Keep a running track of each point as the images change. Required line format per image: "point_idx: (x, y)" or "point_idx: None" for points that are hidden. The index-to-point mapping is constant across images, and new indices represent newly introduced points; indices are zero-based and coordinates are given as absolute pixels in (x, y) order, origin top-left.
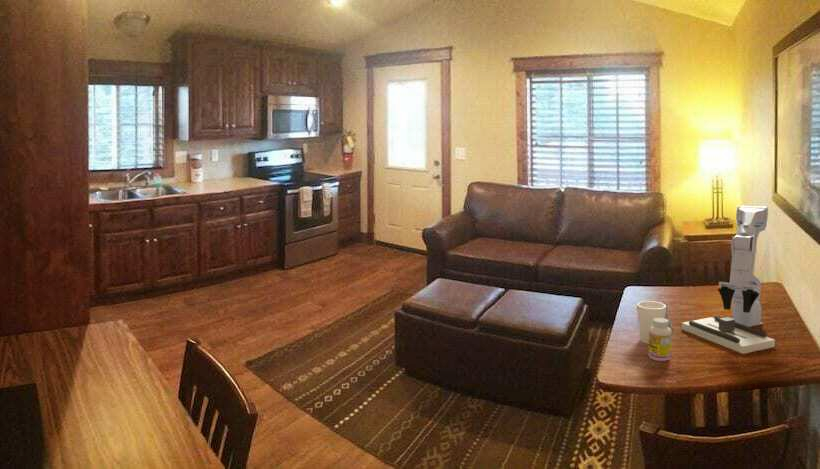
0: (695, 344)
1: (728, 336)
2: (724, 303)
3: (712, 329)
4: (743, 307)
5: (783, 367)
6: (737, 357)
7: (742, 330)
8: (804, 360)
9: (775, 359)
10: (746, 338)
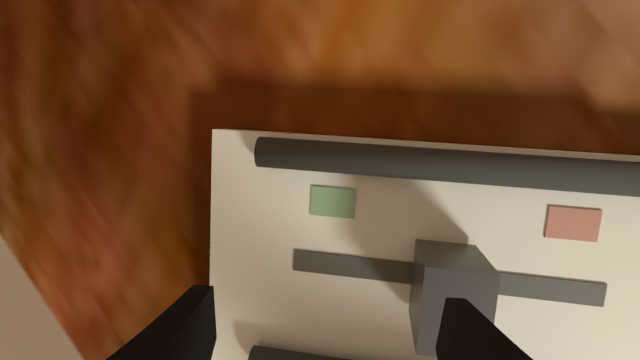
0: (455, 14)
1: (318, 143)
2: (483, 334)
3: (461, 160)
4: (187, 309)
5: (49, 143)
6: (210, 62)
7: (391, 358)
8: (69, 290)
9: (122, 198)
10: (290, 256)
